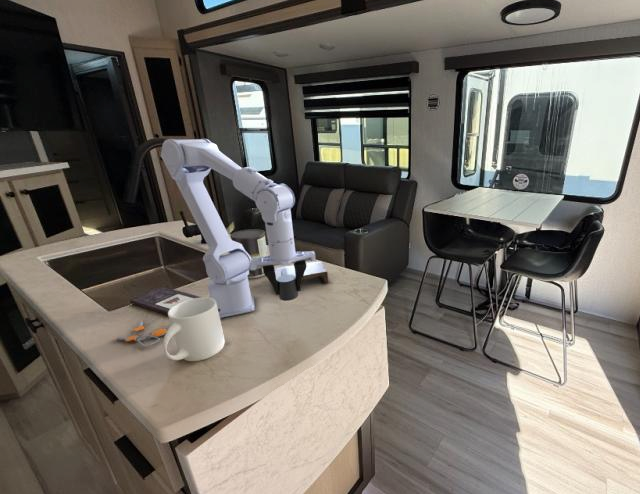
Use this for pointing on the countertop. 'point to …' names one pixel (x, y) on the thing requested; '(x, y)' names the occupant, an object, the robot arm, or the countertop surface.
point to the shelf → (306, 271)
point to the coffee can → (252, 247)
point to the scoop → (287, 286)
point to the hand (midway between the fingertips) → (287, 291)
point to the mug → (195, 330)
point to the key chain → (140, 338)
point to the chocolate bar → (162, 299)
